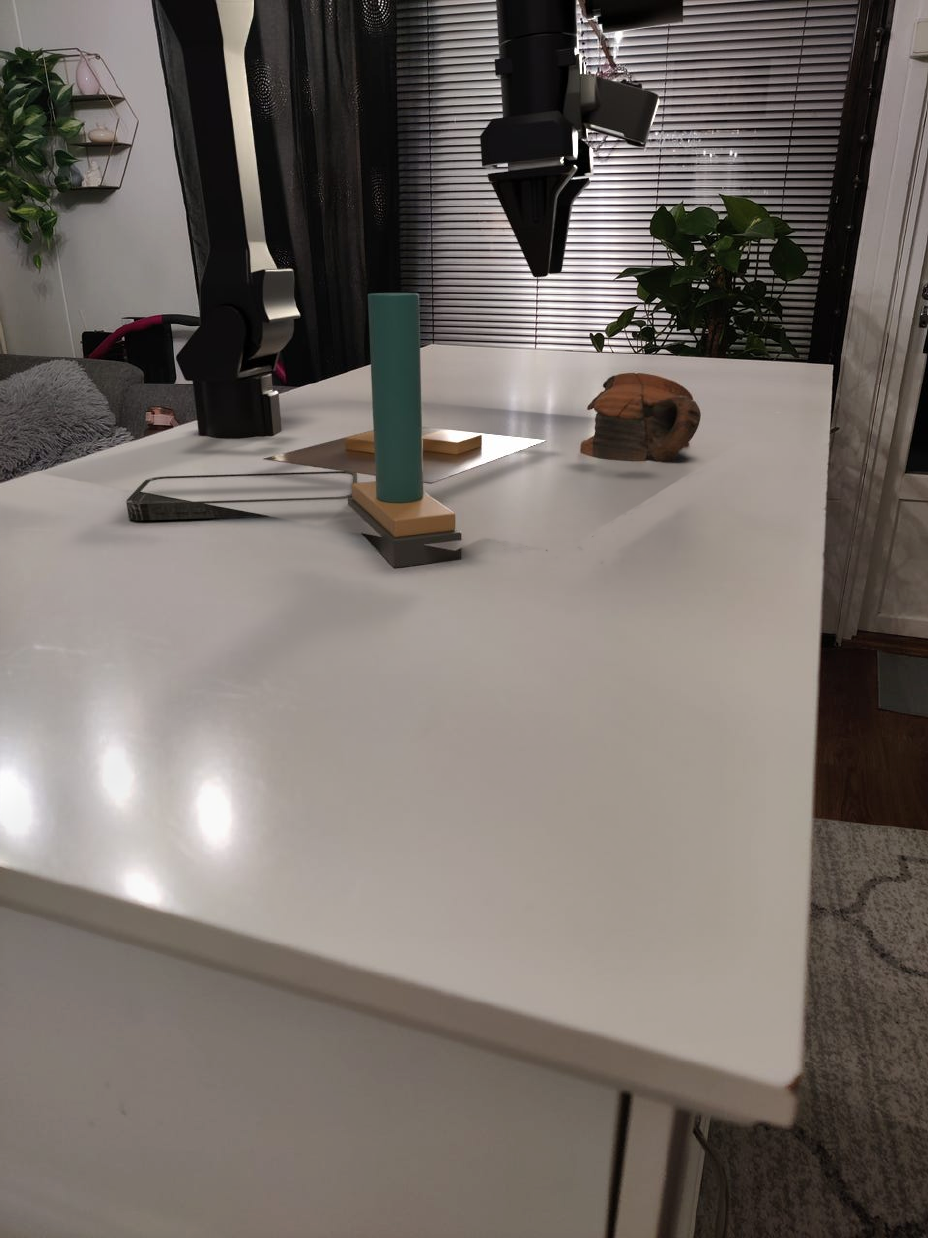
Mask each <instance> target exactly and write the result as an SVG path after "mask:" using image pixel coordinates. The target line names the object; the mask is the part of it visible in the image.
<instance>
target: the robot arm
mask: <svg viewBox="0 0 928 1238" xmlns="http://www.w3.org/2000/svg"><path fill="white" fill-rule="evenodd" d="M254 1H255V0H157V2H158V5H159V6H160V9H161V11H162V12H163V14H164V17H165V20H166V21H167V23H168V25H169V27H170V29H171V31H172V32H173V35H174V38H175V39H176V41H177V44H178V46H179V49H180V53H181V59H182V67H183V72H184V79H185V86H186V87H185V88H186V94H187V102H188V109H189V115H190V122H191V128H192V136H193V143H194V151H195V159H196V165H197V170H198V171H197V172H198V179H199V186H200V193H201V199H202V206H203V213H204V221H205V227H206V236H207V243H208V252H207V256H206V260H205V264H204V268H203V272H202V275H201V279H200V283H199V315H198V316H199V319H198V320H199V326H198V327H197V328H196V330H195V331H194V333H193V334H192V335H191V336H190V337H189V339H188V340H187V341H186V342H185V344H184V345H183V346H182V347H181V349H180V350H179V351H178V353H177V354H176V356H175V361H176V363H177V366H178V367H179V370H180V372H181V375H182V377H183V378H184V380H185V382H186V381H187V382H192V388H193V398H194V406H195V415H196V423H197V429H198V430H197V432H198V436H199V437H200V436H201V437H208V438H212V439H220V440H221V439H223V440H238V439H239V440H240V439H251V438H265V437H274V436H277V435H278V434H279V433H281V432H283V431H282V430H283V429H282V417H281V416H282V415H281V406H280V395H279V393H280V392H278V391H277V390H274V389H273V378H272V377H273V376H272V373H267V372H274V371H276V369H277V365H278V361H279V358H280V354H281V351H282V350H283V349H285V347H286V346H287V345H288V343H289V342H290V340H291V339H292V338H293V334H294V329H295V320H296V319H299V318H301V313H300V312H299V310H298V308H297V305H296V300H295V273H294V269H292V268H278V267H277V265H276V263H275V261H274V259H273V257H272V255H271V254H270V251H269V249H268V245H267V242H266V234H265V233H266V232H265V225H264V216H263V208H262V200H261V199H262V198H261V191H260V183H259V182H260V181H259V175H258V165H257V156H256V148H255V139H254V131H253V124H252V123H253V122H252V116H251V115H252V114H251V106H250V97H249V90H248V89H249V88H248V82H247V73H246V66H245V65H246V63H245V47H246V43H247V40H248V36H249V33H250V29H251V25H252V21H253V18H254ZM577 2H578V0H495V5H496V7H495V8H496V22H497V23H496V25H497V26H496V27H497V42H498V43H497V44H498V57H499V58H494V72H495V77H496V78H497V79H498V80H499V81H500V93H501V108H502V109H501V110H502V117H496V118H492V119H491V120H490V121H489V123H488V124H487V126H486V127H485V128H484V130H482V132H481V134H480V135H479V141H480V155H481V157H480V158H481V167H482V168H485V169H487V170H495V169H498V165H507V171H499V172H491V173H487V175H486V176H487V179H488V182H489V183H490V184H491V186H492V188H493V191H494V193H495V195H496V197H497V199H498V202H499V204H500V205H501V208H502V210H503V212H504V215H505V217H506V219H507V221H508V224H509V226H510V228H511V230H512V231H513V234H514V236H515V240H516V241H517V243H518V246H519V248H520V250H521V253H522V254H523V257H524V259H525V261H526V263H527V266H528V269H529V270H530V272H531V275H532V276H533V278H545V277H547V276H548V275H549V274H550V275H553V274H554V275H555V274H560V273H562V271H563V266H564V259H565V255H566V254H565V253H566V248H567V247H566V246H567V242H568V235H569V229H570V221H571V218H572V217H571V216H572V211H573V205H574V203H575V201H576V200H577V199H578V197H579V196H580V195H581V194H582V193H583V192H584V190H585V189H586V188H587V187H589V185H590V184H591V182H592V178H590V176H592V177H593V176H594V151H593V149H592V147H591V146H590V145H589V144H588V143H587V142H586V141H584V140H587V139H588V138H589V135H588V134H589V133H588V131H591V132H594V133H597V134H601V135H605V136H609V137H611V138H616V139H619V140H622V141H625V142H626V144H627V145H628V146H632V147H637V148H640V149H645V148H646V145H647V142H648V139H649V136H650V133H651V130H652V127H653V123H654V120H655V116H656V113H657V110H658V107H659V104H660V96H659V94H657V93H656V92H653V91H651V90H647V89H644V88H643V83H641V82H638V84H636V83H632V82H630V81H628V80H627V79H625V78H623V79H622V80H621V81H620V82H619V81H615V80H612V79H609V78H605V77H601V76H595V75H591V74H587V73H586V64H585V61H582V54H581V53H580V52H579V36H578V35H579V34H578V33H579V32H578V3H577ZM584 9H585V16H586V19H587V21H590V20H595V19H597V25H598V26H600V25H601V30H602V35H607V34H613V33H621V32H627V31H635V30H640V29H648V28H655V27H660V26H667V25H675V24H681V23H684V0H584ZM596 17H597V18H596Z"/></svg>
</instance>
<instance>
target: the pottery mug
mask: <svg viewBox="0 0 928 1238" xmlns="http://www.w3.org/2000/svg"><path fill="white" fill-rule="evenodd" d="M602 388H603V389H604V390H603V391H601V392H599V393H598V394H597V396H596V397H594V398H593V399H592V401H591V402H590V403H589V404H588V405H587V408H586V410H587V411H591V410H593V411H595V417H594V418H595V419H594V423H595V424H594V435H593V436H590V437H589V438H587V439H584V440H583V441H581V443H580V449H579V450H580V451H579V452H580V454H583V455H585V456H588V457H592V458H596V459H603V460H609V461H620V462H646V460H647V455H648V453H650V455H651V457H652V458H653V460H654V461H655V462H669V461H675V460H677V458H678V455H679V453H680V452H681V451H682V450H683V449H684V448H688V447H690V441H691V440H692V439H693V437H694V435H695V434H696V432H697V430H698V428H699V426H700V421H701V415H702V413H701V410H700V406H699V405H698V403H697V402H696V401H695V400H694V397H693V395H692V393H691V392H690V391H689V390H688V389H687V388H686V387H685V386H684V385H682V384H680V383H678V382H677V381H674V380H673V379H668V378H666V377H662V376H659V375H655V374H650V373H642V372H624V373H619V374H616V375H615V374H614V375H611V376H610V377H608V378H607V379H606V381H605V382H604V383H603V384H602Z"/></svg>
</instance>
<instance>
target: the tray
mask: <svg viewBox="0 0 928 1238" xmlns="http://www.w3.org/2000/svg"><path fill="white" fill-rule="evenodd" d="M441 430H446V431H455V432H464V433H473V434H482V446H481V447H478V448H475V449H472V450H469V451H466V452H463V453H460V454H457V455H455V454H447V453H439V452H431V451H423V450H422V451H423V484H431V485H433V484H434V483H435V484H436V483H437V482H441V481H443V480H446V479H449V478H451V477H454V476H456V475H460V474H461V473H464V472H468V471H469V470H472V469H475V468H478V467H480V466H483V465H486V464H488V463H491V462H494V461H497V460H499V459H502V458H505V457H507V456H510V455H513V454H515V453H518V452H521V451H524V450H527V449H529V448H533V447H535V446H537V445H541V444H543V443H545V442H547V440H545V439H544V440H543V439H536V438H526V437H517V436H509V435H499V434H488V433H481V432H480V433H479V432H471V431H463V430H454V429H453V430H452V429H444V428H443V429H442V428H434V427H425V426H422V436H424V435H427V434H431V433H434V432H437V431H441ZM370 431H374V429H372V430H369V431H364V432H360V433H357V434H353V435H349V436H345V437H342V438H337V439H334V440H329V441H327V442H323V443H318V444H314V445H311V446H307V447H303V448H298V449H296V450H291V451H287V452H284V453H280V454H276V455H272V456H268V457H265V458H264V457H263V460H267V461H272V462H280V463H285V464H292V465H293V464H294V465H300V466H305V467H314V468H318V469H319V468H320V469H321V468H322V469H326V470H333V471H350V472H355V473H356V474H361V475H370V476H375V477H376V474H375V453H367V452H360V451H352V450H346V446H345V438H347V437H351V436H354V435H358V434H362V433H366V432H370Z"/></svg>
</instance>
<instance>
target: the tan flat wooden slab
mask: <svg viewBox="0 0 928 1238" xmlns="http://www.w3.org/2000/svg"><path fill="white" fill-rule="evenodd" d="M446 430H447V429H444V430H441V431H437V432H434V433H431V434H427V435H424V436H422V450H423V451H431V452H439V453H447V454H455V455H457V454H460V453H463V452H466V451H469V450H472V449H475V448H478V447H481V446H482V434H483V433H481V434H473V433H474V432H472V433H464V432H465V431H463V432H455V431H456V430H454V431H446Z"/></svg>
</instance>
